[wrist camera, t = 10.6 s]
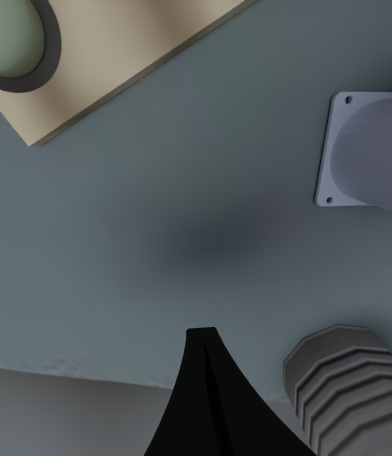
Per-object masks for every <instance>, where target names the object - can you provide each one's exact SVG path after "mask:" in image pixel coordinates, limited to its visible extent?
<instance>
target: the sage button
mask: <svg viewBox="0 0 392 456" xmlns="http://www.w3.org/2000/svg"><path fill="white" fill-rule="evenodd" d="M44 44H45V37H44V29H43V25H42V22H41V19H40V16H39V14H38V12H37V10H36V8H35V6H34V5H33V3H32V2H31V0H0V76H3V77H19V76H23V75H25V74H27V73H29V72H31V71H32V70H33V69H34V68H35V67H36V66H37V65H38V63H39V61H40V60H41V57H42V55H43V51H44Z"/></svg>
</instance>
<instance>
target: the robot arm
mask: <svg viewBox="0 0 392 456" xmlns="http://www.w3.org/2000/svg"><path fill="white" fill-rule="evenodd" d="M346 97H348V98H349V101H348V103H347V104H346V103H345V99H346ZM328 197H330V200H329V201H328V202H326V200H327V198H328ZM315 203H316V204H317V205H318V206H322V207H323V206H358V205H373V206H375V207H378V208H381V209H384V210H387V211H390V212H392V92H339V93H336V94H335V95H334V96H333V98H332V102H331V108H330V114H329V120H328V125H327V131H326V137H325V143H324V149H323V155H322V161H321V167H320V172H319V178H318V184H317V190H316V196H315ZM144 456H317V455H316V454H315V453H314V452H313V451H312V450H311V449H310V448H309V447H308V446H307V445H305V444H304V443H303V442H302V441H301V440H300V439H299V438H298V437H297V436H296V435H295V434H294V433H293V432H292V431H291V430H290V429H289V428H288V427H287V426H286V425H285V424H284V423H283V422H282V421H281V420H280V419H279V417H278V416H277V415H276V414H275V413H274V412H273V411H272V410H271V409H270V408H269V406H268V405H267V404H266V403H265V402H264V400H263V399H262V398H261V397H260V396H259V394H258V393H257V392H256V391H255V389H254V388H253V387H252V386H251V384H250V383H249V382H248V380H247V379H246V377H245V376H244V375H243V373H242V372H241V370H240V369H239V367H238V366H237V364H236V363H235V361H234V360H233V358H232V357H231V355H230V353H229V352H228V350H227V348H226V347H225V345H224V343H223V341H222V339H221V337H220V336H219V333H218V331H217V329H216V328H215V327H206V328H190V329H188V330H186V344H185V349H184V354H183V358H182V362H181V366H180V370H179V373H178V376H177V380H176V383H175V386H174V389H173V392H172V395H171V397H170V400H169V402H168V405H167V407H166V410H165V412H164V414H163V417H162V419H161V421H160V424H159V426H158V428H157V430H156V432H155V435H154V437H153V439H152V441H151V443H150V445H149V447H148V448H147V450H146V452H145V454H144Z"/></svg>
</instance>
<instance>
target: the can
mask: <svg viewBox="0 0 392 456" xmlns="http://www.w3.org/2000/svg"><path fill="white" fill-rule="evenodd" d="M283 385H284V388H285V390H286V392H287V394H288V397H289V399H290V401H291V403H292V406H293V408H294V410H295V412H296V415H297V417H298V419H299V421H300V424H301V426H302V428H303V431H304V433H305V435H306V437H307V440H308V442H309V444H310V446H311V449H312V451H313V452H314V453H315V454H316V455H317V456H392V353H391V352H390V351H389V350H388V349H387V348H386V347H385V346H384V345H383V344H382V343H381V342H380V341H379V340H378V339H377V338H376V337H375V336H374V335H373V334H372V333H371V332H370V331H369V330H368V329H367V328H366V327H356V326H346V325H336V324H335V325H333V326H330V327H328V328H326V329H323V330H321V331H319V332H316V333H314V334H311V335H309V336H307V337H304V338H303V339H302V340H301V341H300V342H299V343H298V345H297V346H296V347H295V348H294V349H293V350H292V352H291V353H290V354H289V355H288V356H287V358H286V359H285V360H284V361H283Z"/></svg>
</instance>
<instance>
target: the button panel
mask: <svg viewBox="0 0 392 456" xmlns="http://www.w3.org/2000/svg"><path fill="white" fill-rule="evenodd" d="M255 1H257V0H31V2H32V3H33V5H34V6H35V8H36V10H37V12H38V14H39V16H40V19H41V22H42V25H43V29H44V37H45V44H44V51H43V55H42V57H41V60H40V61H39V63H38V65H37V66H36V67H35V68H34V69H33V70H32V71H31V72H29V73H27V74H25V75H23V76H19V77H3V76H0V112H1V113H2V114H3V115H4V117H5V118H6V119H7V120H8V122H9V123H10V124H11V125H12V126H13V128H14V129H15V130H16V131H17V133H18V134H19V135H20V136H21V138H22V139H23V140H24V141H25V142H26V144H27V145H28V146H29V147H30V146H41V145H43V144H44V143H46V142H47V141H49V140H50V139H52V138H53V137H55V136H56V135H58V134H59V133H61V132H62V131H64V130H65V129H67V128H68V127H70V126H71V125H73V124H74V123H76V122H77V121H79V120H80V119H81V118H83V117H84V116H86V115H87V114H89V113H90V112H92V111H93V110H95V109H96V108H98V107H99V106H101V105H102V104H104V103H105V102H107V101H108V100H110V99H111V98H113V97H114V96H116V95H117V94H119V93H120V92H122V91H123V90H125V89H126V88H128V87H129V86H131V85H132V84H134V83H135V82H137V81H138V80H139V79H141V78H142V77H144V76H145V75H147V74H148V73H150V72H151V71H153V70H154V69H156V68H157V67H159V66H160V65H162V64H163V63H165V62H166V61H168V60H169V59H171V58H172V57H174V56H175V55H177V54H178V53H180V52H181V51H183V50H184V49H186V48H187V47H189V46H190V45H192V44H193V43H194V42H196V41H197V40H199V39H200V38H202V37H203V36H205V35H206V34H208V33H209V32H211V31H212V30H214V29H215V28H217V27H218V26H220V25H221V24H223V23H224V22H226V21H227V20H229V19H230V18H232V17H233V16H235V15H236V14H238V13H239V12H241V11H242V10H244V9H245V8H247V7H248V6H250V5H251V4H252V3H254V2H255Z"/></svg>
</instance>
